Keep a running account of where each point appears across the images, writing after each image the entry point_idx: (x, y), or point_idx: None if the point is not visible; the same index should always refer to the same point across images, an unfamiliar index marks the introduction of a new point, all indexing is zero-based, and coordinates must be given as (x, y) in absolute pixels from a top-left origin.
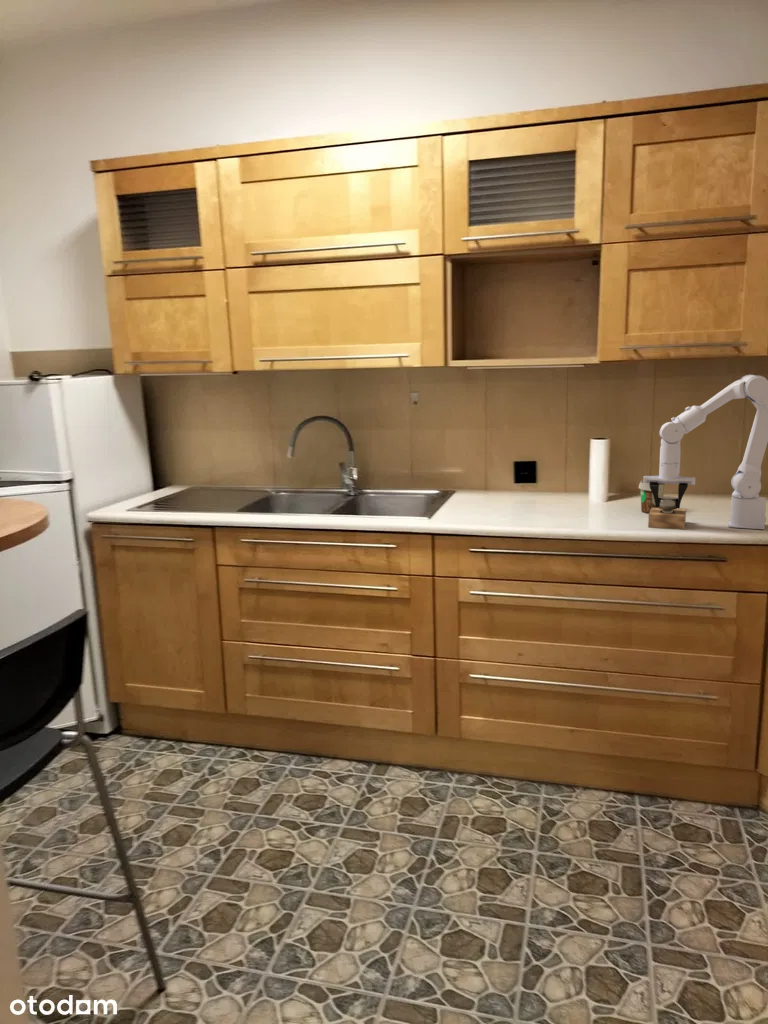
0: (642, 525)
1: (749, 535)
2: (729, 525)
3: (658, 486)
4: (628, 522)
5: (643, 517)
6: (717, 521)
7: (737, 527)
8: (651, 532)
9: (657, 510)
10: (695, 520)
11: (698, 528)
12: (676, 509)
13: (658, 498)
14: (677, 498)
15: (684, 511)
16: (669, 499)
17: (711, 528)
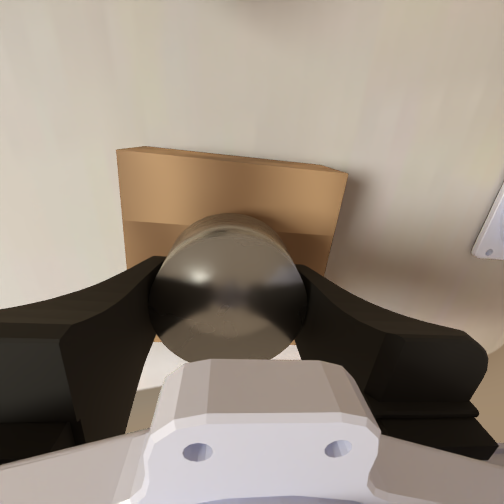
0: (122, 271)
1: (482, 340)
2: (480, 248)
3: (101, 384)
4: (40, 221)
5: (87, 63)
6: (479, 122)
7: (498, 259)
8: (174, 366)
9: (169, 240)
10: (379, 113)
11: (349, 280)
12: (287, 190)
13: (154, 329)
14: (301, 319)
15: (326, 243)
16: (239, 358)
17: (399, 271)
